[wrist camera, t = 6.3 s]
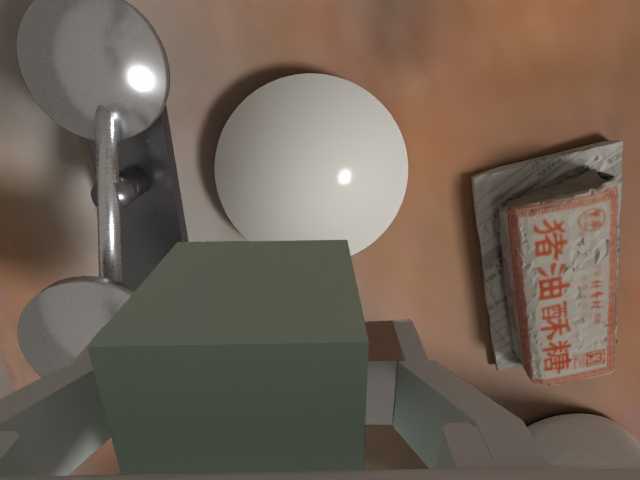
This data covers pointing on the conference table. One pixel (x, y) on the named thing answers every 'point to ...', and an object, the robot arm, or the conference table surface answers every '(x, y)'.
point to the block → (238, 361)
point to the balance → (102, 160)
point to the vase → (584, 441)
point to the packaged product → (552, 261)
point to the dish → (311, 163)
